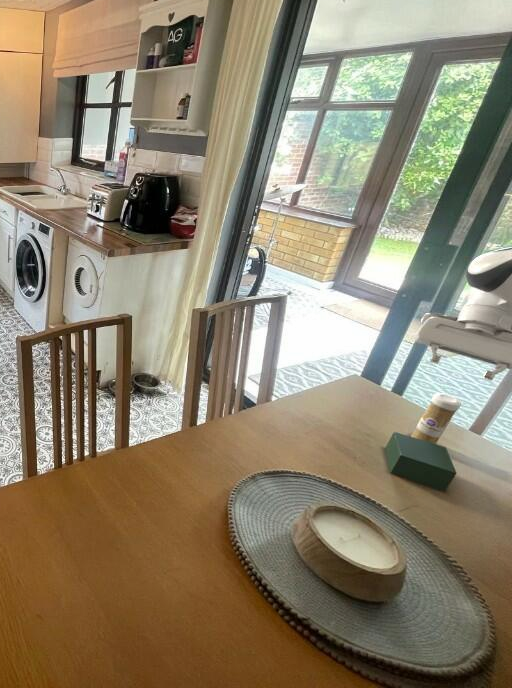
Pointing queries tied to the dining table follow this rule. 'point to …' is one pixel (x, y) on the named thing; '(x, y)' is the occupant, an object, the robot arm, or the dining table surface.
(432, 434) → the sprinkles bottle
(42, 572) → the dining table surface
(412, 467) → the riser block
